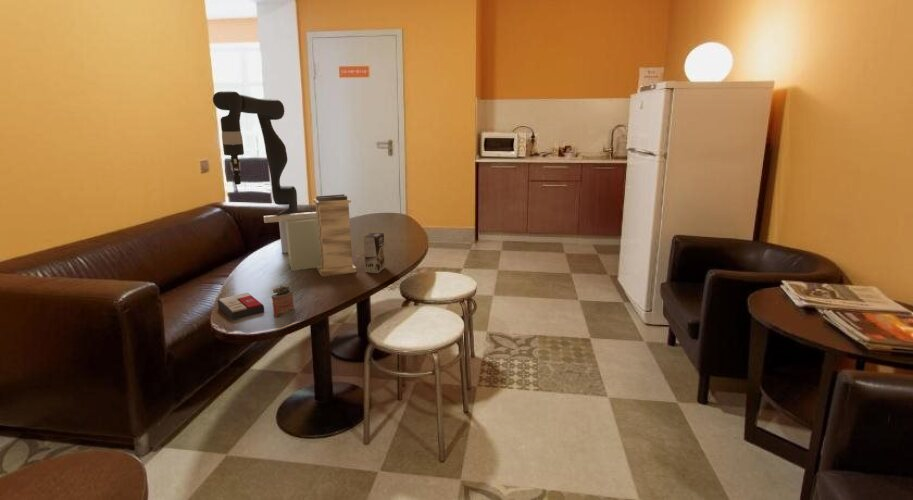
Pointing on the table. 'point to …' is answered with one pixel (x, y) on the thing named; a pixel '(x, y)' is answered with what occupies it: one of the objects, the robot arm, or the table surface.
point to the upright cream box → (303, 244)
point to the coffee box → (374, 252)
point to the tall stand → (334, 235)
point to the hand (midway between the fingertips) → (237, 183)
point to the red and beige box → (240, 306)
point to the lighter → (282, 301)
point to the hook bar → (290, 217)
